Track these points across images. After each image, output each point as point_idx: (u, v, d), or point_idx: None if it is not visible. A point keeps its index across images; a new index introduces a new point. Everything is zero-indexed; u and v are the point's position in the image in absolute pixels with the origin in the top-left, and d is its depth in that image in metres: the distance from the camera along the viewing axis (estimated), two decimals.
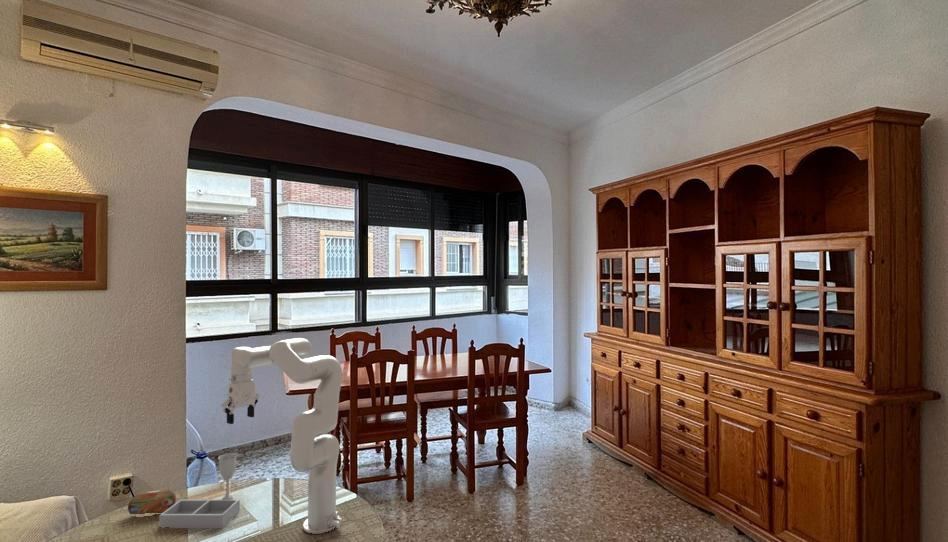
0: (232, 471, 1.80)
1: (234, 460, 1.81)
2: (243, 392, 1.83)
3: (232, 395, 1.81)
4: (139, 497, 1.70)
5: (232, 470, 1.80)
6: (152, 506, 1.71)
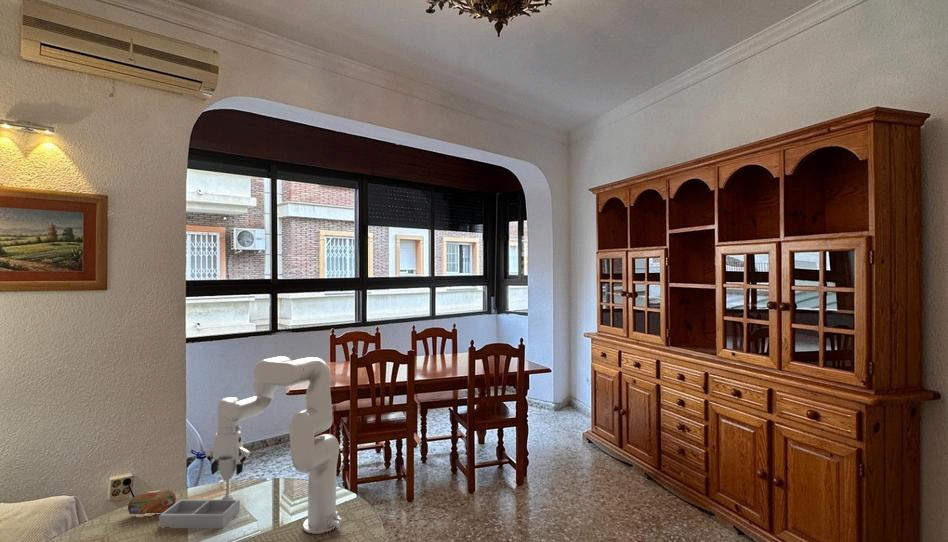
0: (232, 471, 1.80)
1: (234, 460, 1.81)
2: None
3: (241, 443, 1.83)
4: (139, 497, 1.70)
5: (232, 470, 1.80)
6: (152, 506, 1.71)
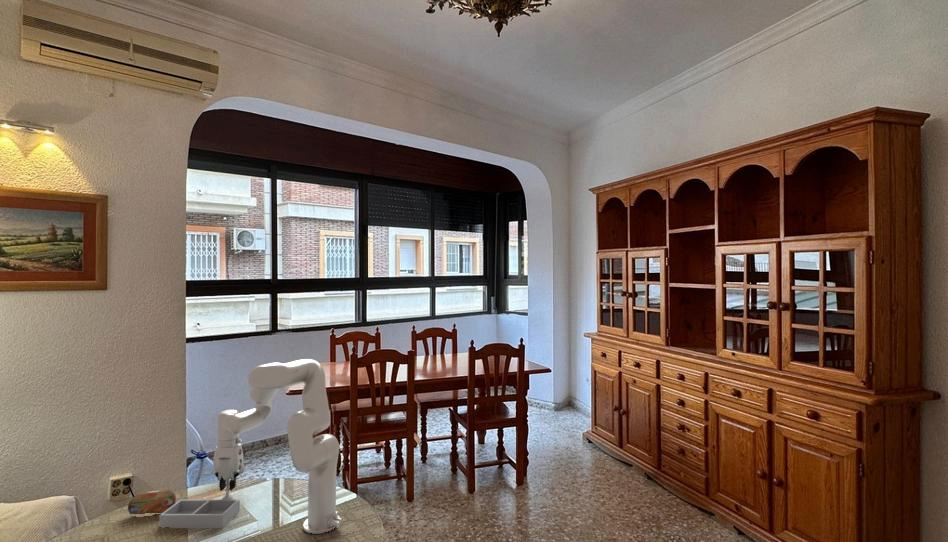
0: None
1: None
2: None
3: (242, 456, 1.82)
4: (139, 497, 1.70)
5: None
6: (152, 506, 1.71)
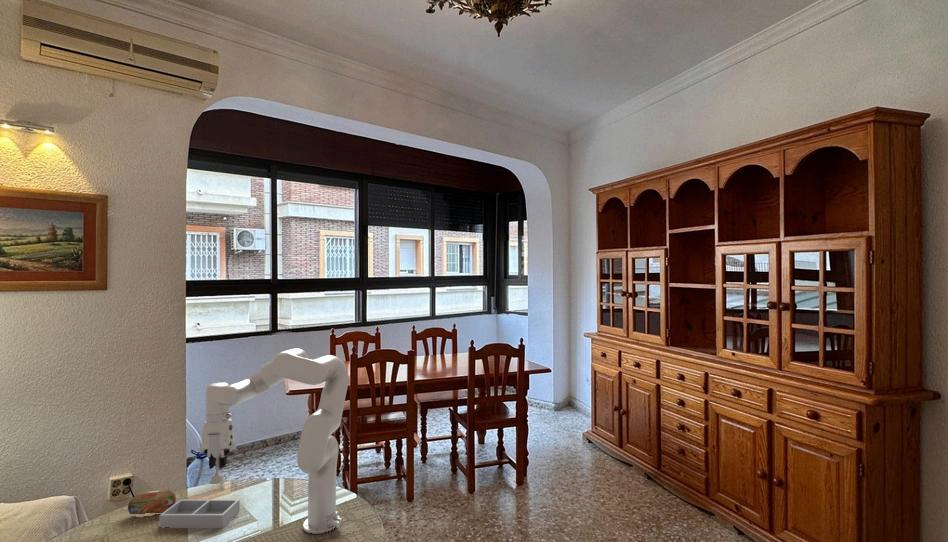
0: None
1: None
2: None
3: (232, 432, 1.70)
4: (139, 497, 1.70)
5: None
6: (152, 506, 1.71)
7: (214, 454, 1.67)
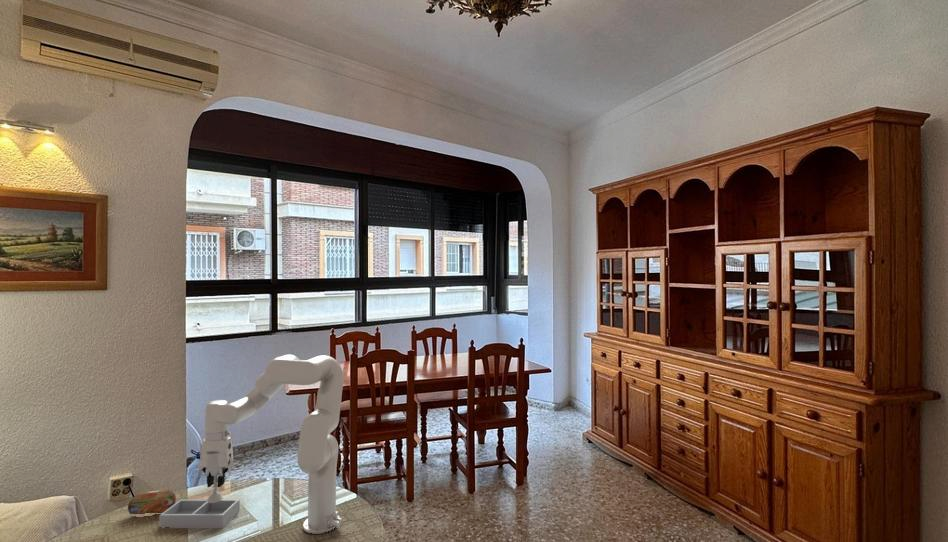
0: None
1: None
2: None
3: (231, 450, 1.69)
4: (139, 497, 1.70)
5: None
6: (152, 506, 1.71)
7: (212, 473, 1.66)
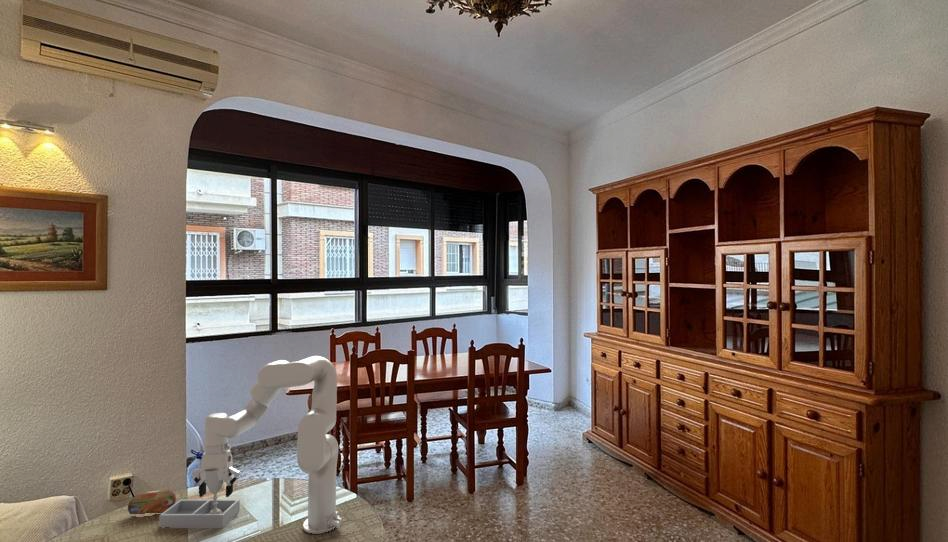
0: (220, 483, 1.67)
1: None
2: None
3: (231, 463, 1.69)
4: (139, 497, 1.70)
5: (220, 482, 1.66)
6: (152, 506, 1.71)
7: (212, 490, 1.66)
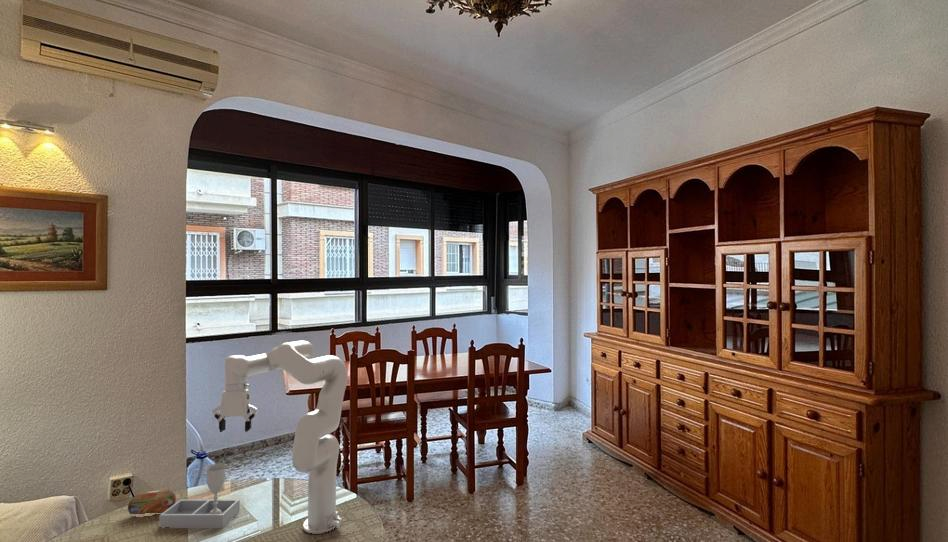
0: (220, 483, 1.67)
1: (223, 471, 1.68)
2: None
3: (249, 401, 1.82)
4: (139, 497, 1.70)
5: (220, 482, 1.67)
6: (152, 506, 1.71)
7: (212, 490, 1.66)
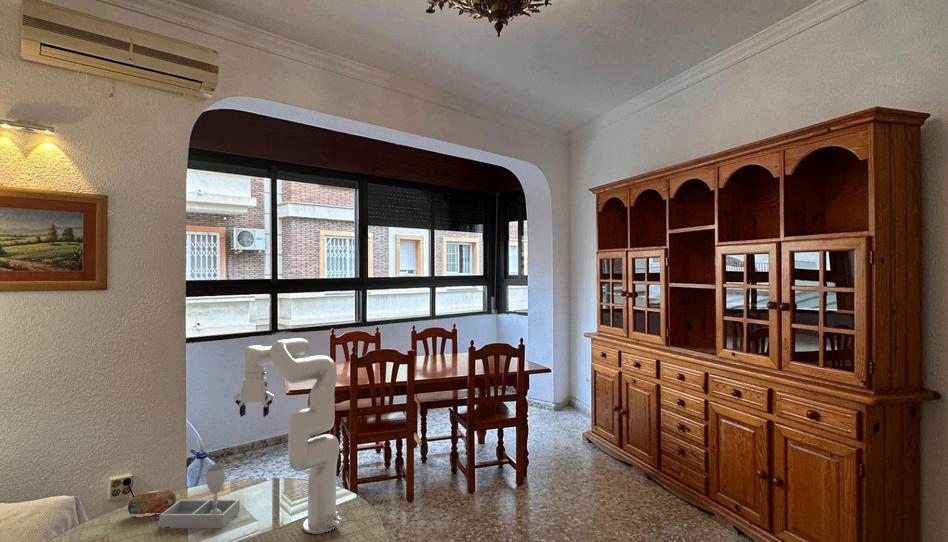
0: (220, 483, 1.67)
1: (222, 471, 1.67)
2: None
3: (267, 388, 1.95)
4: (139, 497, 1.70)
5: (220, 482, 1.67)
6: (152, 506, 1.71)
7: (212, 490, 1.66)
